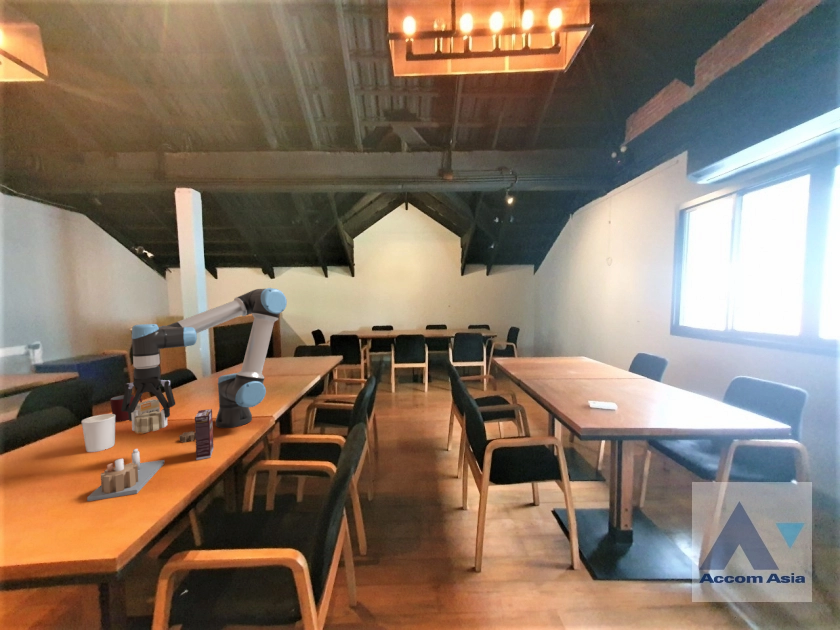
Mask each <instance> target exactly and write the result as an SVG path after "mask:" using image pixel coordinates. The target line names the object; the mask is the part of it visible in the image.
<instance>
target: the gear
mask: <svg viewBox="0 0 840 630" xmlns="http://www.w3.org/2000/svg"><path fill="white" fill-rule="evenodd" d="M178 437H179V442H180V443H182V444H183V443H187V442H193V441H195V440H196V435H195V430H191V431H187V432H186V431H185V432H183V433H182V434H179V436H178Z"/></svg>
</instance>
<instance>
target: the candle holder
mask: <svg viewBox="0 0 840 630" xmlns="http://www.w3.org/2000/svg"><path fill="white" fill-rule="evenodd" d="M115 416H116V415H115V414H112V413H103V414H98V415H97V414H96V415H93V416H90V417H86V418H84V419H82V420H81V426H82V433H83V440H84V445H85V451H86V453H87V452H88V453H96V452H101V451H106V450H108V449H110V448H113V447H114V446H115V444H116V422H115ZM105 449H106V450H105Z"/></svg>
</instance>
